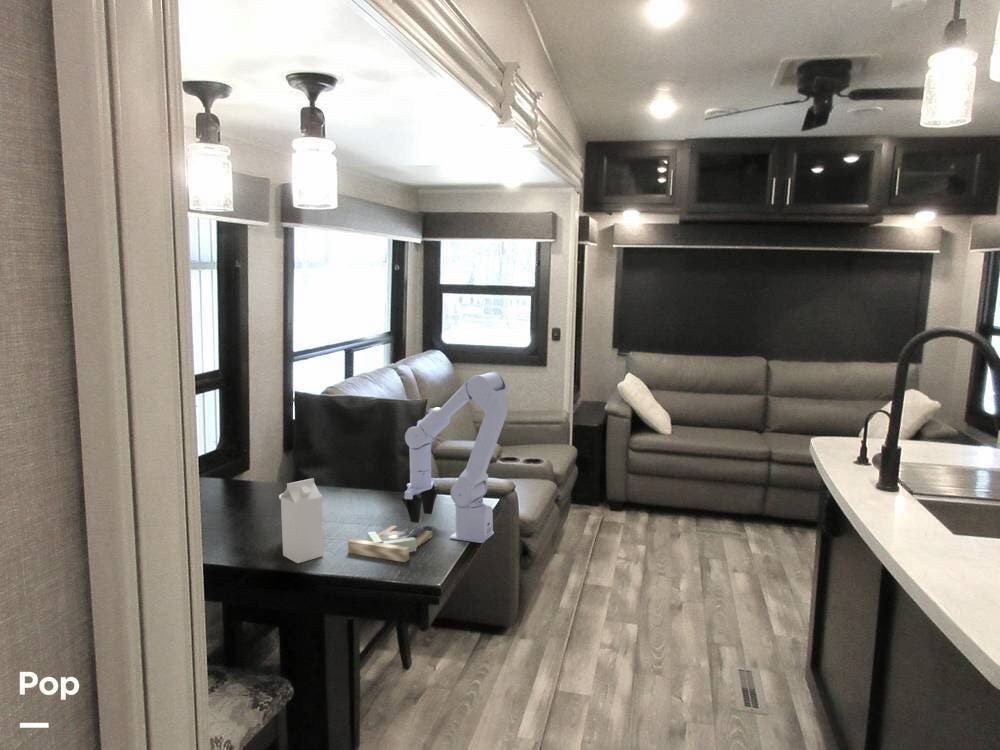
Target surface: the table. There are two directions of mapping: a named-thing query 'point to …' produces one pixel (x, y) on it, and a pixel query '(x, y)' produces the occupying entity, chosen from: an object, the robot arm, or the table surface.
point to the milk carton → (302, 521)
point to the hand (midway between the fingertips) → (421, 517)
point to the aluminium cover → (392, 535)
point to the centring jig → (387, 545)
